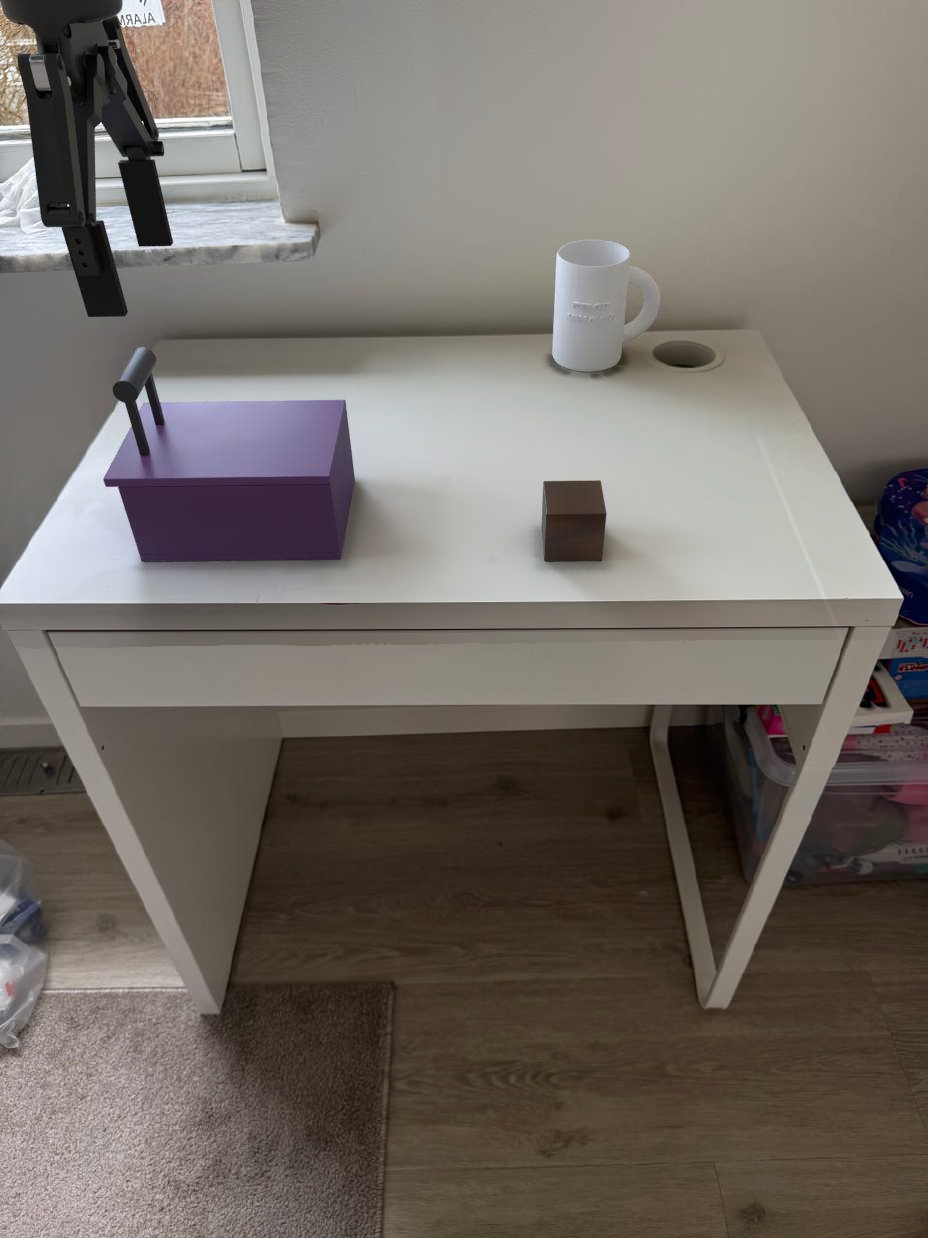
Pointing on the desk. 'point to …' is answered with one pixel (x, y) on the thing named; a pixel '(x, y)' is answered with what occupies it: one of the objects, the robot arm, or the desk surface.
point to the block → (573, 520)
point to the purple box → (244, 518)
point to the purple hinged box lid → (221, 438)
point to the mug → (597, 304)
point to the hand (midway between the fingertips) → (133, 277)
